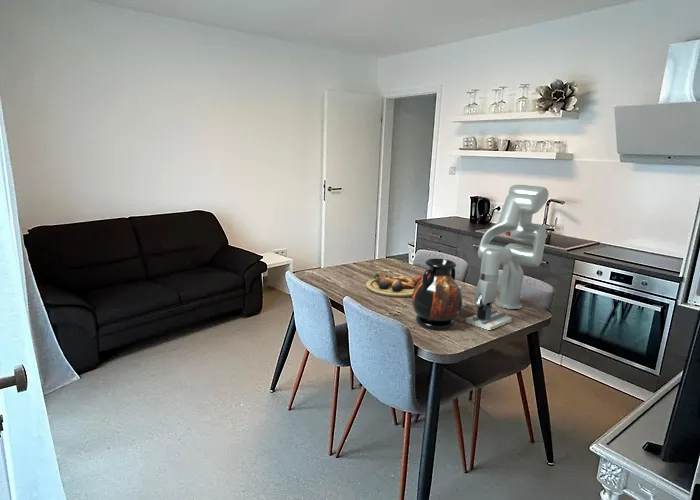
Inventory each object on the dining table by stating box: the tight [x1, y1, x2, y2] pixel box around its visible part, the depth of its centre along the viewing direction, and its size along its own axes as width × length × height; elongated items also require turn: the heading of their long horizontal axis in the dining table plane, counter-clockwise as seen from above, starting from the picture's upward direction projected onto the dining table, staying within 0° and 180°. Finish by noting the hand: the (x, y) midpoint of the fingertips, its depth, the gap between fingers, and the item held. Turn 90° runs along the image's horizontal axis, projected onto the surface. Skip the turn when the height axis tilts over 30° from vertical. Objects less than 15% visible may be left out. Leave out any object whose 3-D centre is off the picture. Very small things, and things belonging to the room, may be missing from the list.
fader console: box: [465, 309, 513, 331], centre depth 192 cm, size 18×12×3 cm, turn 131°
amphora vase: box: [411, 258, 463, 331], centre depth 185 cm, size 22×22×28 cm
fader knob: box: [476, 304, 493, 321], centre depth 188 cm, size 3×5×7 cm, turn 41°
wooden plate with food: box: [365, 272, 423, 299], centre depth 232 cm, size 32×32×8 cm
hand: (483, 316), depth 188 cm, fingers closed on fader knob, 3 cm apart
